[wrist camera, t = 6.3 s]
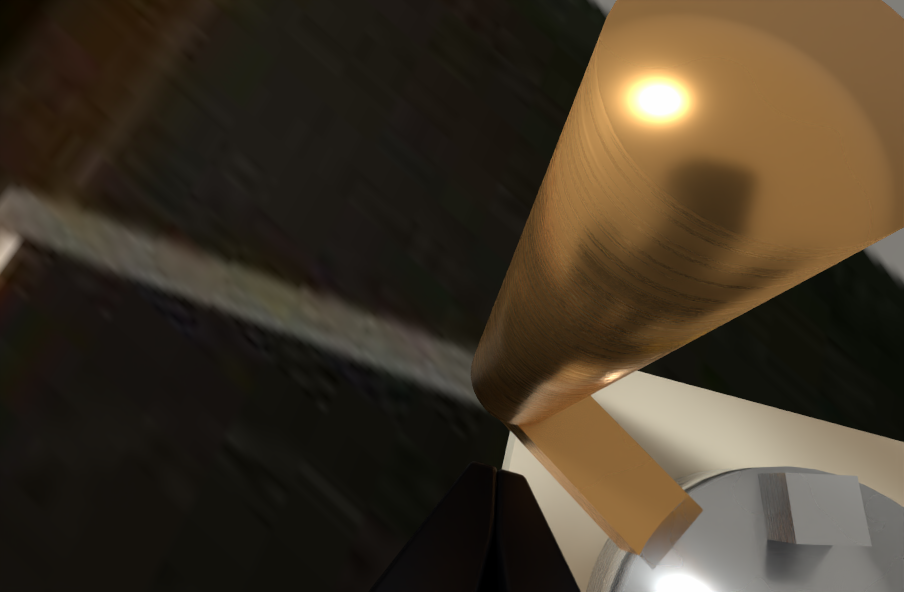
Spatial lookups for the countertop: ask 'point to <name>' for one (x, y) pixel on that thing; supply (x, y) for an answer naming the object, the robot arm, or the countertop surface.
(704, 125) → the disc with rod
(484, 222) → the countertop surface
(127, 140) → the countertop surface
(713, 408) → the flange board
